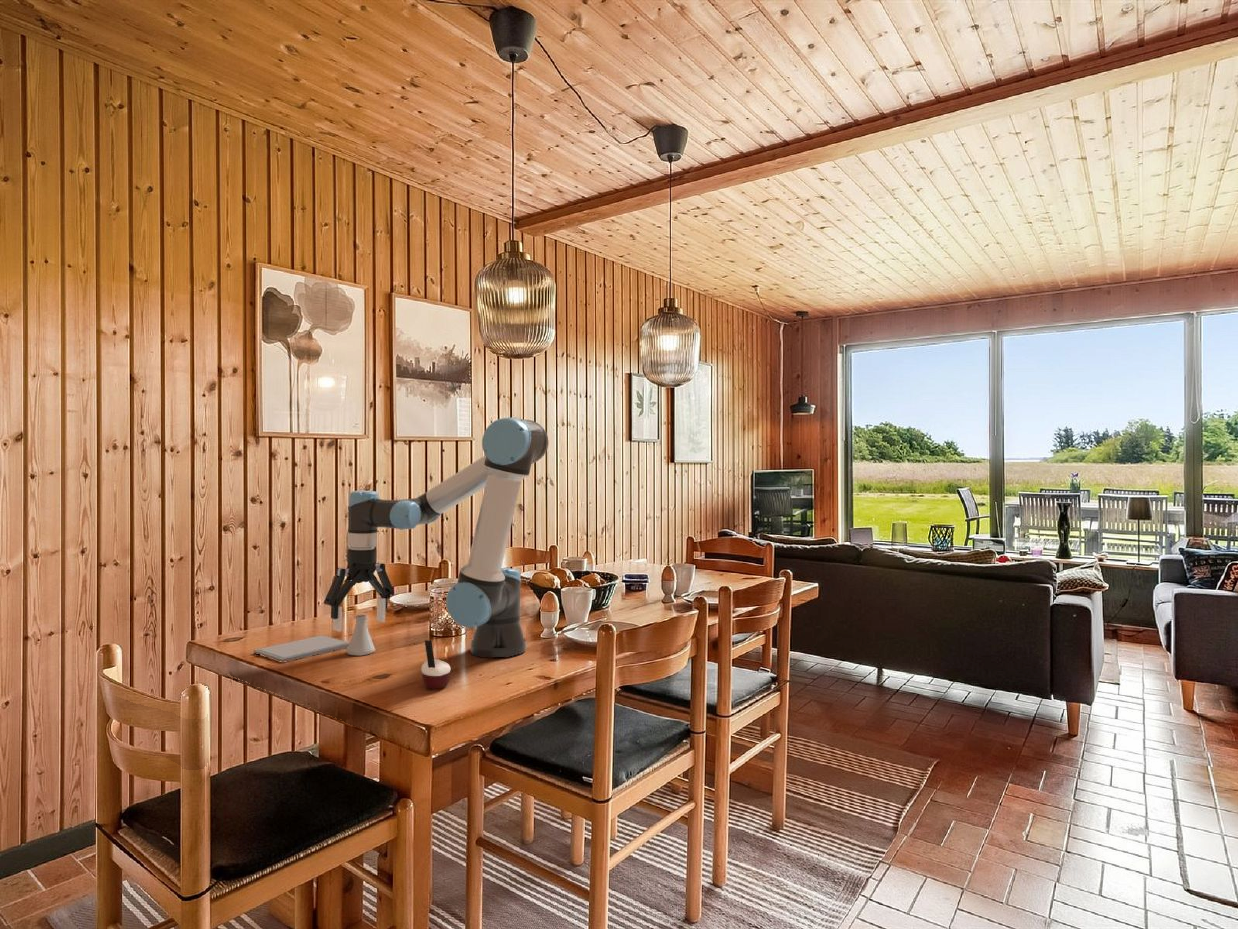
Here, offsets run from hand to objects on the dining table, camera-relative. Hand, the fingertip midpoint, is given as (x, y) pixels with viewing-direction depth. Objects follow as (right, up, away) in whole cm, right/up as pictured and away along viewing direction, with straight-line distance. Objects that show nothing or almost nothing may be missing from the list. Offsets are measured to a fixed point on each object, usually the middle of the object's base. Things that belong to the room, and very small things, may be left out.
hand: (359, 626), depth 191 cm
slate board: (-16, -7, +1) cm, 17 cm away
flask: (0, -7, 0) cm, 7 cm away
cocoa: (+28, -8, -27) cm, 40 cm away
